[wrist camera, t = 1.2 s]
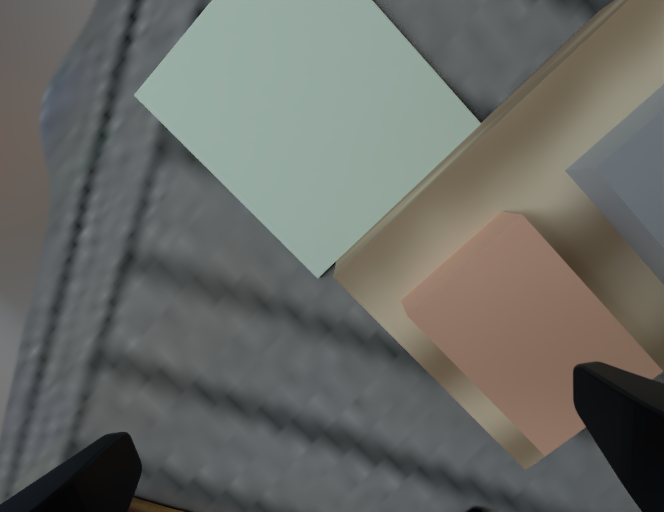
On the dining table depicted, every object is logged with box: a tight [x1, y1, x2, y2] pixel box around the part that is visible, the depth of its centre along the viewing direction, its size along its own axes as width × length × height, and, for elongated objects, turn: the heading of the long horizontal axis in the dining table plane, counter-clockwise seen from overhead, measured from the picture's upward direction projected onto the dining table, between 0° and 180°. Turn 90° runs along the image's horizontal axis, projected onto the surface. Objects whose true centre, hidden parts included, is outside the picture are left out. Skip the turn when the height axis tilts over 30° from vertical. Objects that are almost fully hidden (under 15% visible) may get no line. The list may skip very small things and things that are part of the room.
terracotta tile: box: [401, 211, 663, 456], centre depth 16 cm, size 9×6×2 cm, turn 44°
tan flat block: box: [333, 0, 664, 470], centre depth 18 cm, size 14×18×4 cm
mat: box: [134, 0, 481, 278], centre depth 19 cm, size 14×12×1 cm
